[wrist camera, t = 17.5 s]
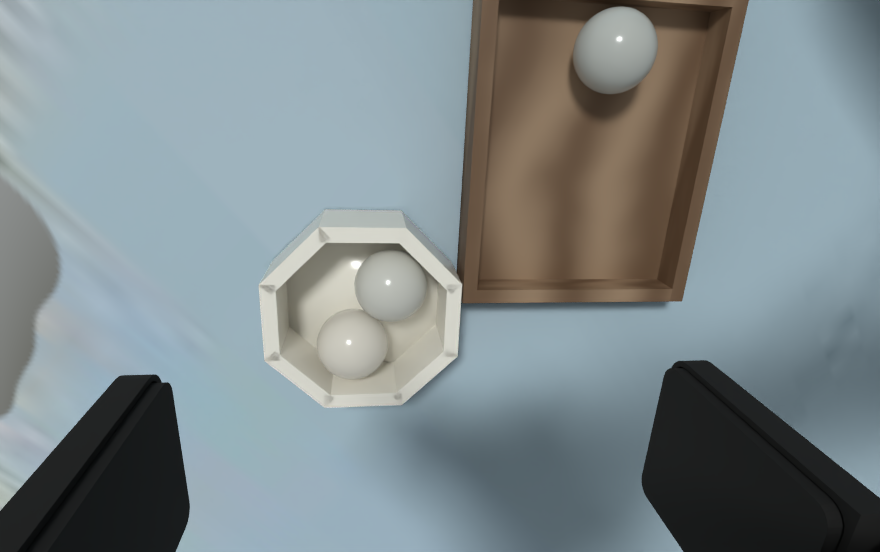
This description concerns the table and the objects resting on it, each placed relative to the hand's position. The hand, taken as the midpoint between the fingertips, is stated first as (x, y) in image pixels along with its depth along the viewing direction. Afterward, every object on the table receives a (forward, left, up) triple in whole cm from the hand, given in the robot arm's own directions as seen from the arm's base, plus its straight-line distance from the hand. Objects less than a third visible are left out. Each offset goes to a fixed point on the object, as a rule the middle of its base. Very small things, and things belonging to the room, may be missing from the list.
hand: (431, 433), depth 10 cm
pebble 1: (+1, +9, -26) cm, 27 cm away
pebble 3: (-14, -9, -27) cm, 32 cm away
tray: (-14, -2, -28) cm, 32 cm away
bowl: (+2, +9, -28) cm, 29 cm away
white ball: (+1, +7, -27) cm, 28 cm away
